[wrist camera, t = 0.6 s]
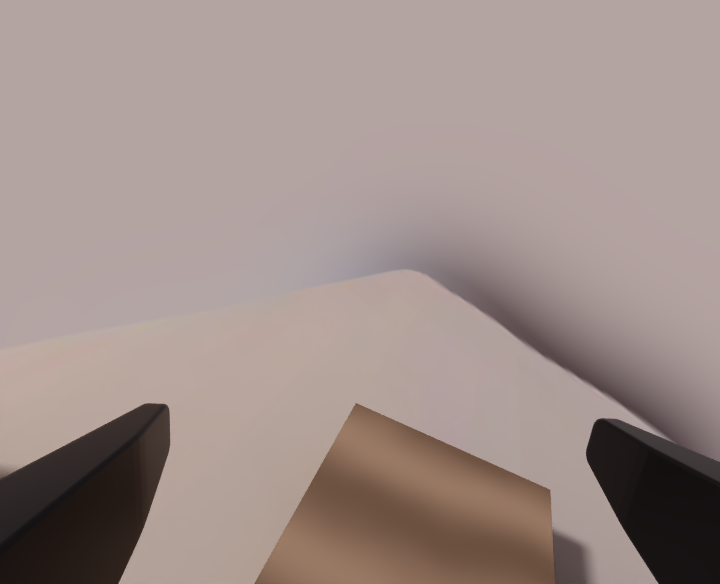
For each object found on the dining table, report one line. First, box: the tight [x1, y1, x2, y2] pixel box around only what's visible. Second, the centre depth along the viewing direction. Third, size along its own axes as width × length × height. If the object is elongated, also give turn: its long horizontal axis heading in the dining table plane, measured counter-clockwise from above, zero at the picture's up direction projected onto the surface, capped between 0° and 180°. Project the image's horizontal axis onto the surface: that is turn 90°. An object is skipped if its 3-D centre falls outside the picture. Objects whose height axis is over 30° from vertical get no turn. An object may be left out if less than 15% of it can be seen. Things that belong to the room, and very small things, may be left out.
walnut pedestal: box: [255, 403, 555, 584], centre depth 21 cm, size 12×12×4 cm
